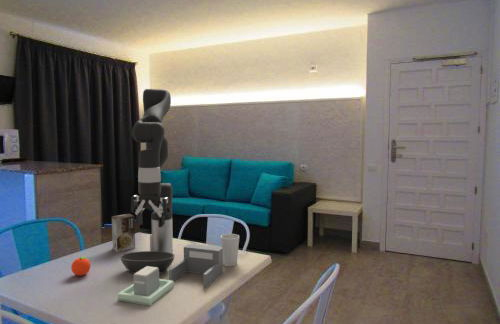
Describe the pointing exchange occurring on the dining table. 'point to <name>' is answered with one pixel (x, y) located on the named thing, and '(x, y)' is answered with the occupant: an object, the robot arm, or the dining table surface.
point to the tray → (129, 296)
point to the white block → (146, 281)
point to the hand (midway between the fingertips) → (150, 225)
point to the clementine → (81, 266)
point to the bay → (199, 263)
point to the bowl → (147, 260)
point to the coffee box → (123, 232)
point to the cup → (230, 249)
